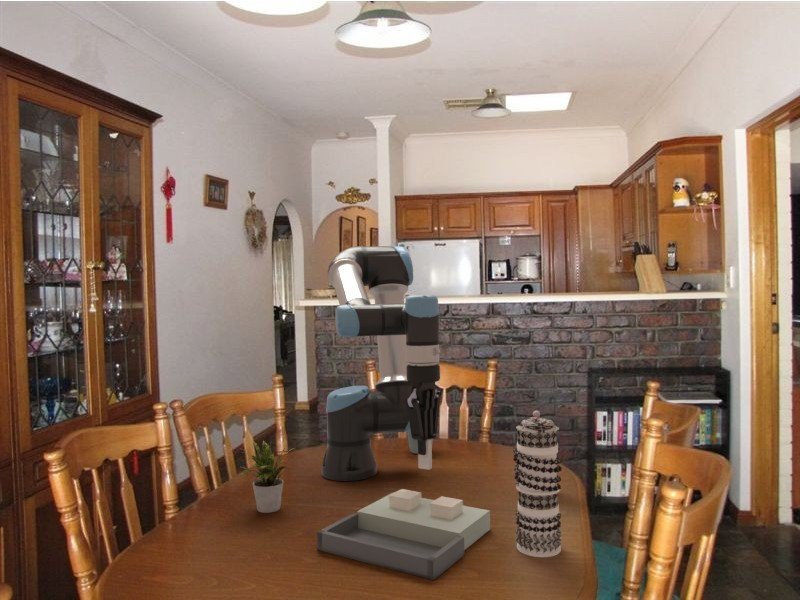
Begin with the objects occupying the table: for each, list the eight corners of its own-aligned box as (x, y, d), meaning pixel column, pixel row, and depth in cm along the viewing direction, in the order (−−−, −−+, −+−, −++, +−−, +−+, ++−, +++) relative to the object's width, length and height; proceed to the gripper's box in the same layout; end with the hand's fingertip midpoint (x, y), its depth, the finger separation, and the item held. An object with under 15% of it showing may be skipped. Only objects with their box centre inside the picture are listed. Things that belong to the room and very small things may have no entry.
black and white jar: (511, 538, 130) (509, 415, 129) (557, 538, 129) (555, 414, 129) (518, 558, 121) (516, 425, 120) (568, 558, 120) (566, 424, 120)
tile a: (389, 507, 138) (389, 495, 138) (401, 500, 142) (401, 488, 142) (409, 511, 135) (409, 499, 135) (421, 503, 140) (421, 492, 139)
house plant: (220, 509, 150) (218, 439, 150) (269, 494, 160) (268, 428, 160) (256, 524, 140) (254, 449, 140) (306, 507, 150) (304, 437, 150)
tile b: (430, 515, 133) (429, 503, 133) (441, 507, 137) (441, 496, 137) (451, 519, 130) (451, 507, 130) (462, 512, 134) (462, 500, 134)
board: (357, 530, 136) (357, 511, 136) (393, 509, 148) (393, 492, 148) (459, 554, 123) (459, 533, 123) (490, 529, 135) (489, 510, 135)
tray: (317, 549, 126) (317, 532, 126) (353, 529, 136) (353, 512, 136) (433, 580, 112) (433, 560, 112) (464, 555, 122) (464, 536, 122)
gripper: (422, 367, 138) (425, 477, 138) (451, 361, 149) (453, 463, 149) (393, 366, 142) (395, 473, 142) (423, 360, 153) (425, 459, 153)
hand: (425, 468), depth 145 cm, fingers closed
